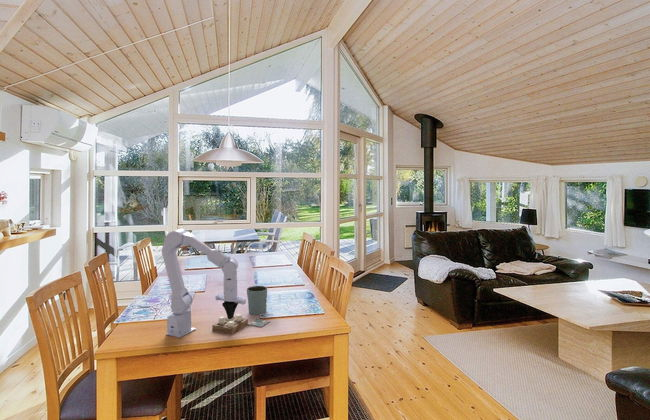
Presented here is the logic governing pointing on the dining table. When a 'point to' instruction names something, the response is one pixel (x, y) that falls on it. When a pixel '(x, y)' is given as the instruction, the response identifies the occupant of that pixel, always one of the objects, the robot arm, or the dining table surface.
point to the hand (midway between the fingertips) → (230, 318)
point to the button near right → (230, 323)
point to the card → (259, 323)
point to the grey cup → (257, 299)
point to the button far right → (238, 318)
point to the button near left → (221, 320)
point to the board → (227, 329)
